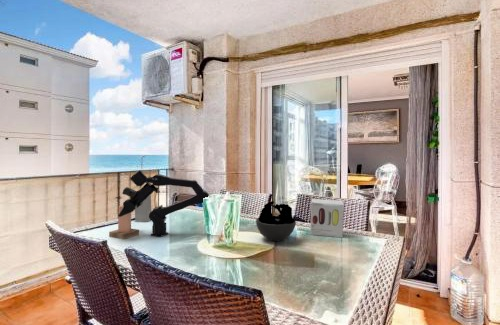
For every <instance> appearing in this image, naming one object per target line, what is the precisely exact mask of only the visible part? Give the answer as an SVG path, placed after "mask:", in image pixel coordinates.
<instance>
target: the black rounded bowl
mask: <svg viewBox="0 0 500 325" xmlns="http://www.w3.org/2000/svg"><path fill="white" fill-rule="evenodd" d="M274 203H275V201H274V200H272V201H271V200H270V201H269V202H267V203H265V204H264V205H263V208H262V209H261V211H260V214H259V216H258V218H256V220H255V223H256V228H257V230H258V231H259V233H260V234H261V236H262V237H264V238H265V239H268V240H270V241H273V242H280V241H284V240H285V239H288V237H290V235H292V234H293V232H294V230H295V228H296V223H297V222H296V219H295V218H294V217H293V208H292V207H291V206H290V205H289V204H286V203H280V204H278V203H275V204H274ZM273 208H274V209H275V210H277V211H278V213H279V214H278V215H273V213H272V209H273Z"/></svg>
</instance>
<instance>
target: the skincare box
mask: <svg viewBox="0 0 500 325" xmlns="http://www.w3.org/2000/svg"><path fill="white" fill-rule="evenodd" d="M151 197H152V195H150V196H149V197H148V198H147V199H146V200H144V201H143V204H142V205H141V206H139V207H138V208H136V209H135V210H134V221H135V223H136V222H138V223H139V222H142V223H143V222H147V223H148V222H149V221H151V220H150V218H149V214H150V212H151V211H152V198H151Z"/></svg>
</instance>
